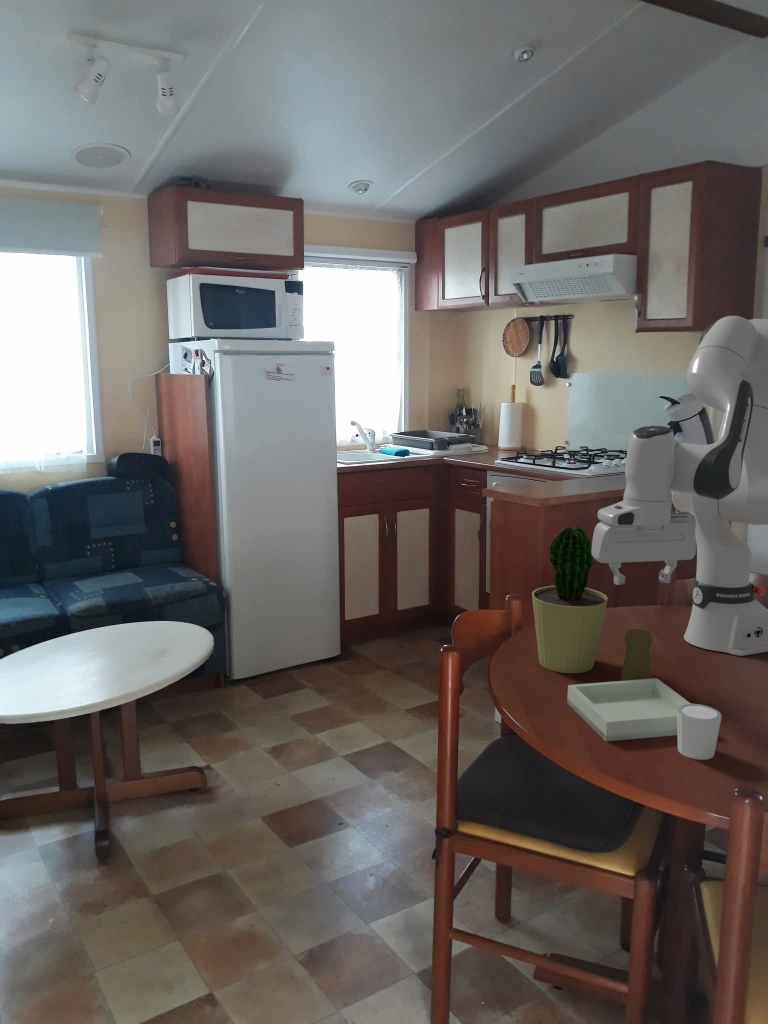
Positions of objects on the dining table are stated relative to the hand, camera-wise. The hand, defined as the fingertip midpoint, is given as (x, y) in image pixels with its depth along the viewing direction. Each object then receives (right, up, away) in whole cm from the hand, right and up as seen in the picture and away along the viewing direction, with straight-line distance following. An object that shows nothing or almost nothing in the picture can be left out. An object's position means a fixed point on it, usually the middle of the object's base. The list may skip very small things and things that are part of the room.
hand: (641, 583), depth 161 cm
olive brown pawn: (0, -20, +4) cm, 21 cm away
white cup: (+2, -26, -24) cm, 35 cm away
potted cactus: (-11, -18, +15) cm, 26 cm away
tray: (-5, -23, -11) cm, 26 cm away
